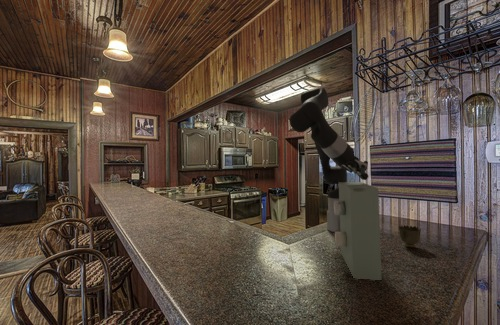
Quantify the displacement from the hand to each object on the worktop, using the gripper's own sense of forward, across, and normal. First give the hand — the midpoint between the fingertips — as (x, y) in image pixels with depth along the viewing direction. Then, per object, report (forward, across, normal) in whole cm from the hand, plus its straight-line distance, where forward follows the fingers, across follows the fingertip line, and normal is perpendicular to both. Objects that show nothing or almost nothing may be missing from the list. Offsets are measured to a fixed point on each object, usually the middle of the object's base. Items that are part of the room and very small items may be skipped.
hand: (365, 177), depth 85 cm
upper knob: (0, -1, +16) cm, 16 cm away
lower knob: (+7, -2, +25) cm, 26 cm away
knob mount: (+13, -4, +28) cm, 31 cm away
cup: (+38, -1, +8) cm, 38 cm away
